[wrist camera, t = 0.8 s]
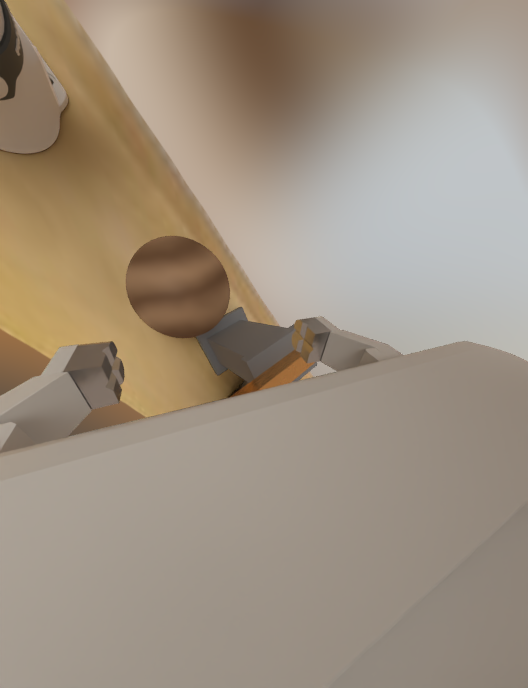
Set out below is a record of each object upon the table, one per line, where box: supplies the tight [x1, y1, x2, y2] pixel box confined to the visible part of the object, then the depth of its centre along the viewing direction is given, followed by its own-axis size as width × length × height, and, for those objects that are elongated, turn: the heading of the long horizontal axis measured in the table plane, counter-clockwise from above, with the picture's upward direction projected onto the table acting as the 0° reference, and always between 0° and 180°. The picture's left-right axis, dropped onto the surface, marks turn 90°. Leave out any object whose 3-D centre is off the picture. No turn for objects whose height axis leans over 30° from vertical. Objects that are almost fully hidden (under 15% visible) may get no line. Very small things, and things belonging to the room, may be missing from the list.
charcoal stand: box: [196, 307, 317, 383], centre depth 48 cm, size 14×15×26 cm
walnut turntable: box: [126, 236, 230, 338], centre depth 34 cm, size 16×16×1 cm
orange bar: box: [229, 350, 315, 398], centre depth 35 cm, size 3×25×3 cm, turn 113°
